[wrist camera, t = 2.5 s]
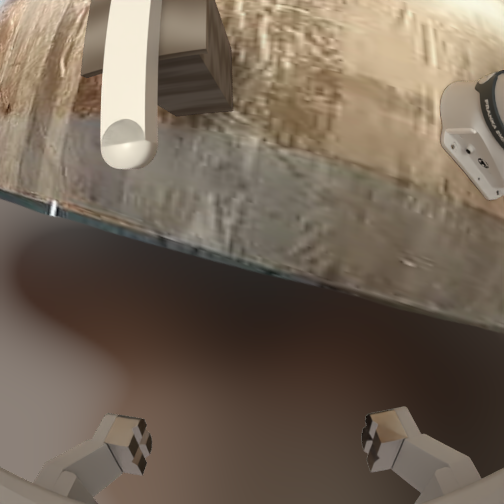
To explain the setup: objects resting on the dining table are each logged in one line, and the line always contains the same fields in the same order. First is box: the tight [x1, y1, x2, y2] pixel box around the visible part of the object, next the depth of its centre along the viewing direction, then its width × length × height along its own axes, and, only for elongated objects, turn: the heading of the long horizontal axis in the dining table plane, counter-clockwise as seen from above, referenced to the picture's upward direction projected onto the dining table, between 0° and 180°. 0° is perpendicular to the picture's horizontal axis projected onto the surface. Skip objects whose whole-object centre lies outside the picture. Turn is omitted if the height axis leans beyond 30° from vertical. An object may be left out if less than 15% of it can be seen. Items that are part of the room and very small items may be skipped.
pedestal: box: [81, 0, 233, 116], centre depth 31 cm, size 12×11×26 cm
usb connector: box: [101, 0, 162, 169], centre depth 18 cm, size 22×4×2 cm, turn 2°
